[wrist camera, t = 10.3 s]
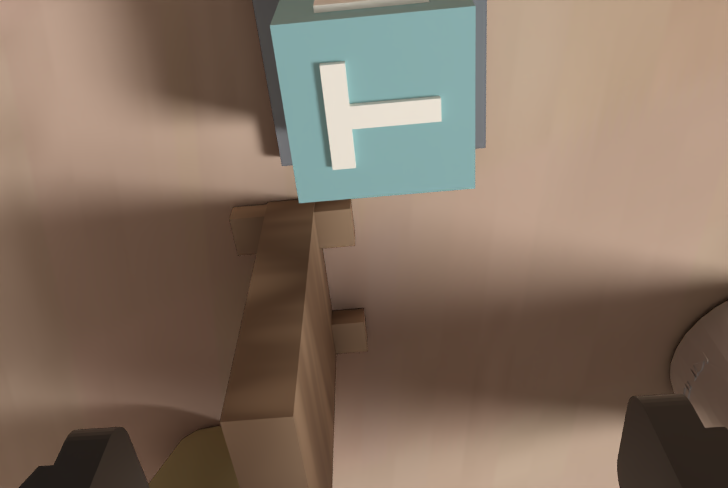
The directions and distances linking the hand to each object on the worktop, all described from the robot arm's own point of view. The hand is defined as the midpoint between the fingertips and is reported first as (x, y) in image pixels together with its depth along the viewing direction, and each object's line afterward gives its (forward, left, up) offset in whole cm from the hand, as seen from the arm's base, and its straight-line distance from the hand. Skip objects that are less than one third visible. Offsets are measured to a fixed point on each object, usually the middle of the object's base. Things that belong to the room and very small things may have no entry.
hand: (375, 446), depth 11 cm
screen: (+4, +9, -17) cm, 20 cm away
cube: (-1, -1, -16) cm, 16 cm away
